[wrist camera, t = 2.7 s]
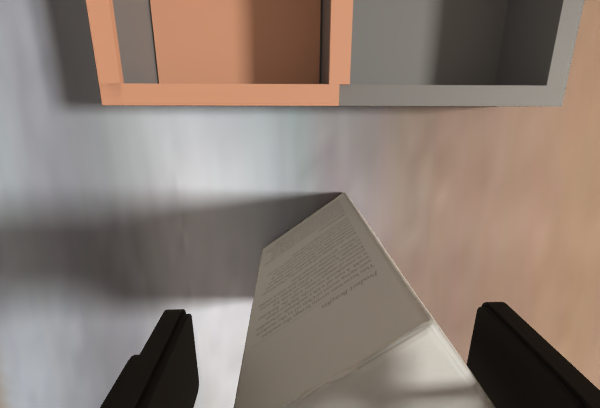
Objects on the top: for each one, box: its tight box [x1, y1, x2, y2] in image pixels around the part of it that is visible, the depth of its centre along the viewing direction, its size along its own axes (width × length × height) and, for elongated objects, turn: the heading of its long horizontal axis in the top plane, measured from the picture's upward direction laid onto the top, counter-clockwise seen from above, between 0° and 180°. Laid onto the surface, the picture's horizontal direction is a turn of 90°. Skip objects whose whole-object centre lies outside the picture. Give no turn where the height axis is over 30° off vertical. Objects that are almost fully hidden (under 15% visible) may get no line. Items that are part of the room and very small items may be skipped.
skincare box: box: [234, 193, 495, 408], centre depth 14 cm, size 6×4×12 cm
